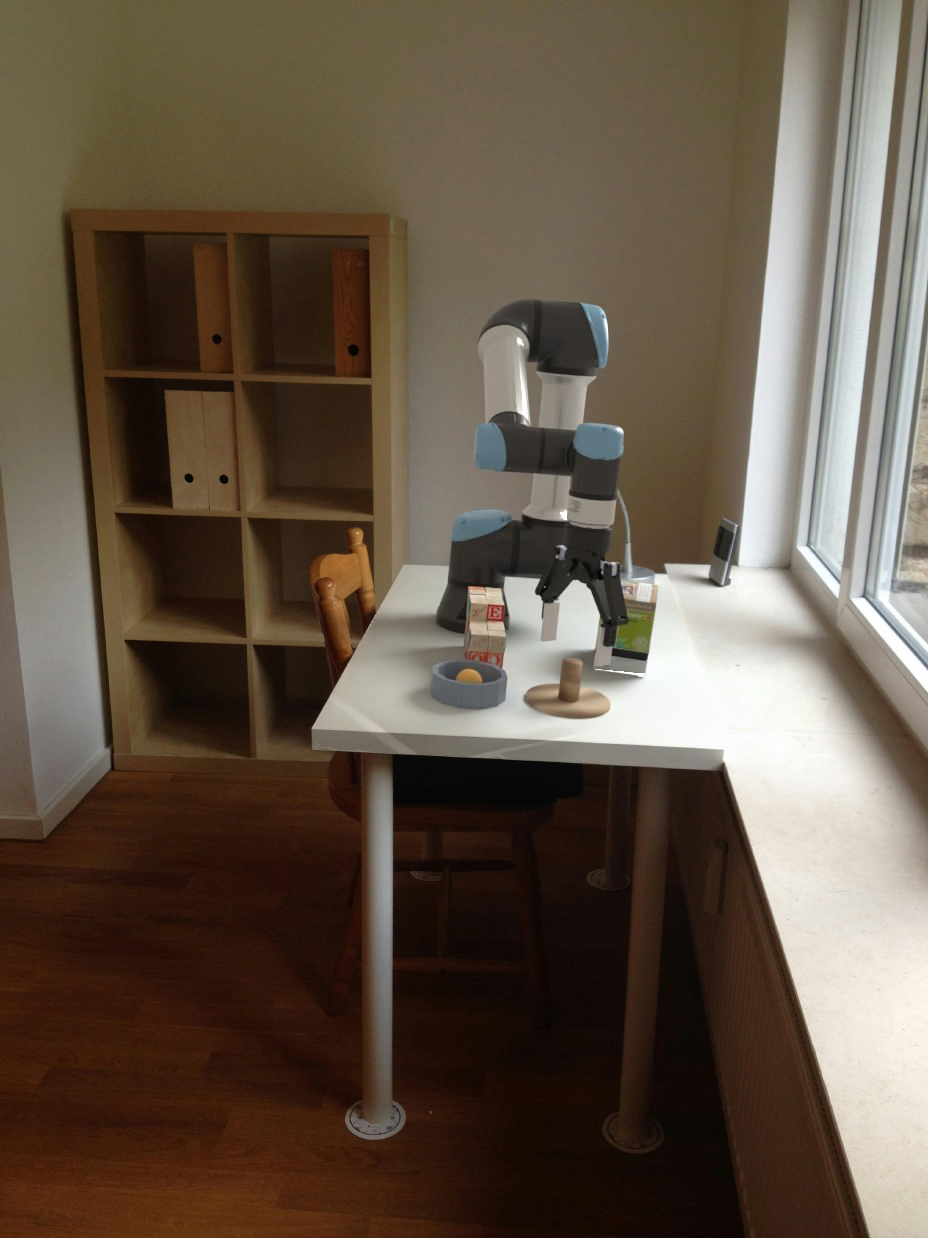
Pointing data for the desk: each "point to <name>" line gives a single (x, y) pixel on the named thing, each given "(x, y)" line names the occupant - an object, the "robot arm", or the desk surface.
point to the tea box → (633, 629)
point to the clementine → (469, 676)
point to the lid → (568, 695)
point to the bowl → (468, 685)
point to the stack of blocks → (485, 626)
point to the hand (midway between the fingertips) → (574, 652)
